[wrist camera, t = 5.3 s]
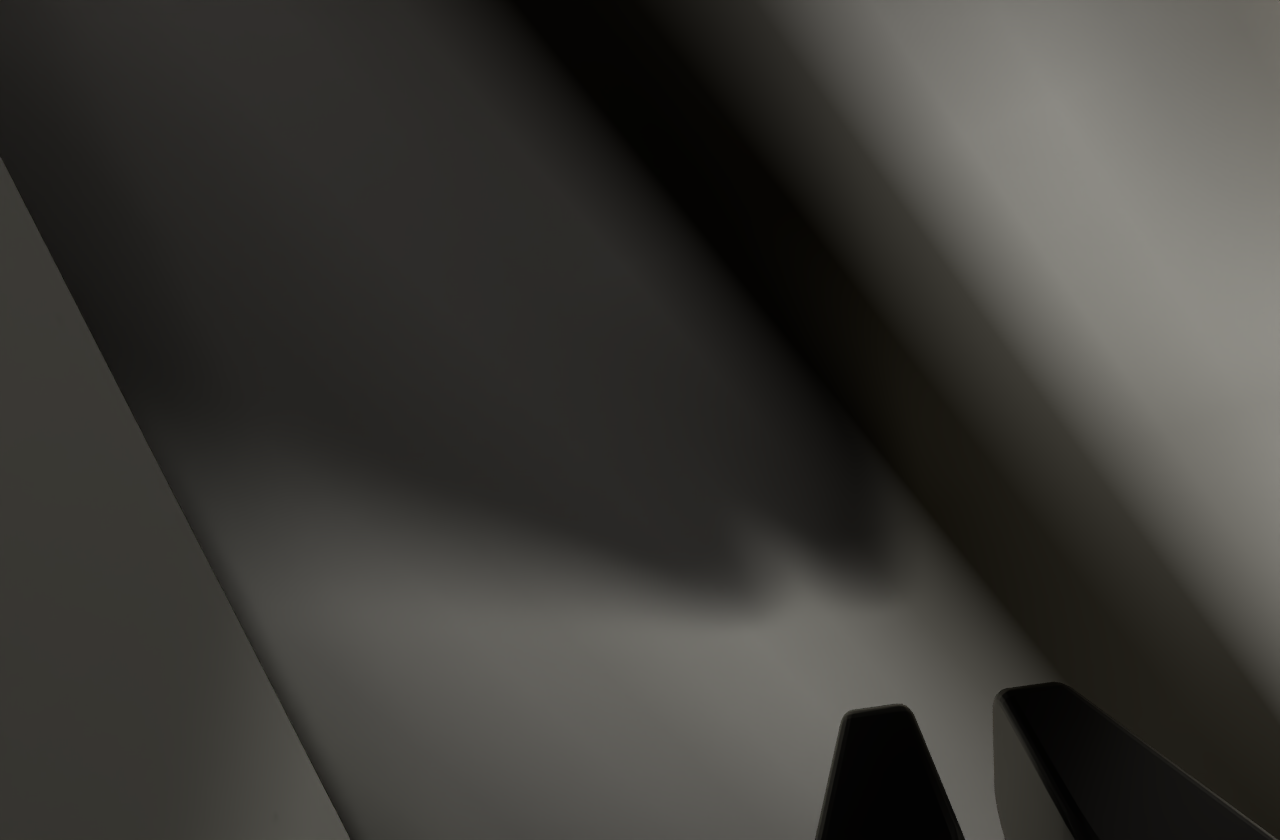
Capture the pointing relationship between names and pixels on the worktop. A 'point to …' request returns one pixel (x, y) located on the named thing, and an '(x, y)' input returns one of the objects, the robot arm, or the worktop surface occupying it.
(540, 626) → the worktop surface
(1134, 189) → the worktop surface
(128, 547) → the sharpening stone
